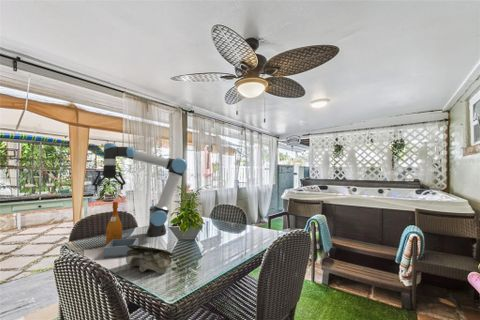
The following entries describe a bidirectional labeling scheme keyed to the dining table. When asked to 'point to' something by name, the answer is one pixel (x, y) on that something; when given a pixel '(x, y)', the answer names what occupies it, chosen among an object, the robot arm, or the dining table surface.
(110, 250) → the crate
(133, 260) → the hollow geode rock
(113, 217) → the wine bottle
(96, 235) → the dining table surface
